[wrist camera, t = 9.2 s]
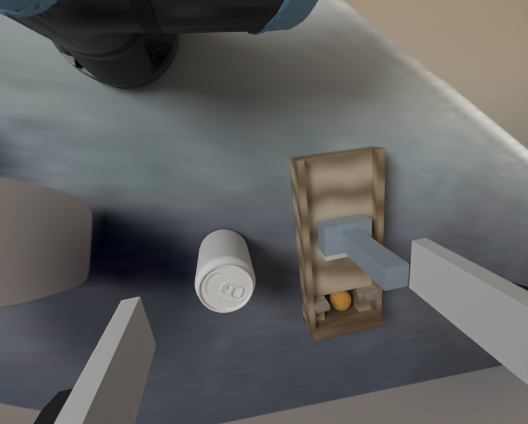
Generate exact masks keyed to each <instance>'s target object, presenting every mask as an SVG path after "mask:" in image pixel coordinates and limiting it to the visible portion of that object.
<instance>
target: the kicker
mask: <svg viewBox="0 0 528 424" xmlns="http://www.w3.org/2000/svg"><path fill="white" fill-rule="evenodd" d="M317 228H318V244H319V254H320V255H321V256H322V257H323V258H324V260H325V261H329V260H334V259H339V258H344V257H350V258H351V259H352V260H353V261H354V262H355V263H356V264H357V265H358V266H359V267H360V268H361V269H362V270H363V271H364V272H365V273H366V274H367V275H368V276H369V277H370V278H372V279H373V280H374V281H375V282H376V283H377V284H378V285H379V286H380V287H381V288H382V289H383V290H384V291H387V290H392V289H397V288H401V287H406V286H408V274H409V264H408V263H407V262H406V261H404V260H403V259H401V258H400V257H398V256H397V255H396V254H394V253H393V252H391V251H390V250H388V249H387V248H385V247H384V246H383V245H381V244H380V243H378V242H377V241H375V240H374V239H372V219H370V218H369V217H367V216H365V215H363V214H358V215H353V216H347V217H341V218H336V219H330V220H324V221H319V222H317Z"/></svg>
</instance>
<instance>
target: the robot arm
mask: <svg viewBox="0 0 528 424" xmlns="http://www.w3.org/2000/svg"><path fill="white" fill-rule="evenodd" d="M317 2H318V0H0V14H2V15H5V16H7V17H9V18H11V19H13V20H15V21H16V22H18V23H20V24H22V25H24V26H26V27H28V28H29V29H31V30H33V31H35V32H37V33H39V34H41V35H43V36H44V37H46V38H48V39H50V40H52V42H53V43H54V45H55V46H56V48H57V49H58V50H59V52H60V53H61V54H62V55H63V56H64V57H65V58H66V59H67V61H69V62H70V63H71V64H72V65H73V66H74V67H75V68H77V69H78V70H79V71H81V72H82V73H84V74H85V75H87V76H89V77H91V78H93V79H95V80H97V81H99V82H102V83H104V84H107V85H110V86H114V87H119V88H135V87H140V86H144V85H147V84H149V83H151V82H153V81H155V80H156V79H158V78H159V77H160V76H161V75H162V74H163V73H164V72H165V71H166V70H167V69H168V67H169V66H170V64H171V62H172V61H173V58H174V56H175V53H176V50H177V45H178V37H179V33H208V32H248V33H250V34H253V35H258V34H260V33H264V32H266V31H276V30H287V29H291V28H292V27H294V26H296V25H298V24H299V23H301V22H302V21H304V20H305V18H306V17H307V16H308V15H309V14H310V12H311V11H312V10H313V8H314V7H315V5H316V3H317ZM409 288H410V289H412V290H413V291H414V292H415V293H416V294H418V295H419V296H420V297H421V298H423V299H424V300H425V301H426V302H427V303H429V304H430V305H431V306H432V307H434V308H435V309H436V310H437V311H438V312H440V313H441V314H442V315H443V316H444V317H446V318H447V319H448V320H449V321H451V322H452V323H453V324H454V325H455V326H457V327H458V328H459V329H460V330H461V331H463V332H464V333H465V334H466V335H468V336H469V337H470V338H471V339H472V340H474V341H475V342H476V343H477V344H479V345H480V346H481V347H482V348H483V349H485V350H486V351H487V352H488V353H489V354H491V355H492V356H493V357H494V358H496V359H497V360H498V361H499V362H500V363H502V364H503V365H504V366H505V367H506V368H508V369H509V370H510V371H511V372H513V373H514V374H515V375H516V376H517V377H519V378H520V379H521V380H522V381H524V382H525V383H526V384H527V385H528V287H525V286H522V285H519V284H516V283H513V282H512V283H511V282H510V281H508V280H506V279H504V278H502V277H500V276H498V275H496V274H494V273H492V272H490V271H488V270H487V269H485V268H483V267H481V266H479V265H477V264H475V263H473V262H471V261H469V260H467V259H465V258H463V257H462V256H460V255H458V254H456V253H454V252H452V251H450V250H448V249H446V248H444V247H442V246H440V245H439V244H437V243H435V242H433V241H431V240H429V239H427V238H423V239H418V240H413V241H412V250H411V267H410V285H409ZM155 348H156V344H155V341H154V338H153V335H152V332H151V329H150V326H149V323H148V320H147V317H146V314H145V311H144V308H143V305H142V302H141V299H140V297H136V298H131V299H126V300H122V301H121V303H120V304H119V306H118V308H117V310H116V312H115V313H114V315H113V317H112V319H111V321H110V323H109V324H108V326H107V328H106V330H105V332H104V333H103V335H102V337H101V339H100V341H99V343H98V344H97V346H96V348H95V350H94V352H93V353H92V355H91V357H90V359H89V361H88V363H87V364H86V366H85V368H84V370H83V372H82V373H81V375H80V377H79V379H78V381H77V383H76V384H75V386H74V388H73V389H69V390H64V391H60V392H58V394H57V395H56V396H55V397H54V398H53V399H52V400H51V401H50V402H49V403H48V404H47V405H46V406H45V407H44V408H43V409H42V411H41V412H40V414H39V416H38V417H37V419H36V421H35V422H34V424H135V420H136V416H137V413H138V409H139V405H140V402H141V398H142V395H143V391H144V387H145V384H146V380H147V377H148V373H149V369H150V366H151V362H152V358H153V355H154V351H155Z"/></svg>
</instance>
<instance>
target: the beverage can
mask: <svg viewBox="0 0 528 424" xmlns="http://www.w3.org/2000/svg"><path fill="white" fill-rule="evenodd" d="M254 288H255V274H254V270H253V267H252V263H251V259H250V255H249V251H248V248H247V244H246V242H245V240H244V239H243V237H242V236H241V235H239V234H238V233H236V232H234V231H231V230H217V231H214V232H212V233H210V234H209V235H208V236H206V237H205V239H204V240H203V241H202V243H201V246H200V250H199V257H198V264H197V271H196V279H195V289H196V293H197V295H198V297H199V298H200V300H201V302H202V303H203V304H204V305H205V306H206V307H207V308H209V309H210V310H213V311H216V312H221V313H226V312H232V311H235V310H238V309H240V308H241V307H243V306H244V305H245V304H246V303H247V302H248V301H249V299H250V298H251V296H252V293H253V291H254Z"/></svg>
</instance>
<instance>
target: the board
mask: <svg viewBox="0 0 528 424" xmlns="http://www.w3.org/2000/svg"><path fill="white" fill-rule="evenodd" d="M385 156H386V148H380V147H371V146H369V147H362V148H355V149H348V150H341V151H334V152H327V153H320V154H313V155H306V156H299V157H292V158H289V159H290V170H291V182H292V193H293V204H294V216H295V227H296V238H297V250H298V261H299V273H300V284H301V295H302V307H303V318H304V321H305V323H306V325H307V327H308V330H309V332H310V334H311V336H312V338H313V340H314V341H319V340H323V339H327V338H331V337H335V336H340V335H344V334H348V333H352V332H356V331H361V330H365V329H369V328H373V327H378V326H382V325H386V319H385V318H384V317H383V316H382V288H381V287H380V286H379V285H378V284H377V283H376V282H375V281H374V280H373V279H372V278H370V277H369V276H368V275H367V274H366V273H365V272H364V271H363V270H362V269H361V268H360V267H359V266H358V265H357V264H356V263H355V262H354V261H353V260H352V259H351V258H350V257H344V258H339V259H334V260H329V261H325V260H324V258H323V257H322V256H321V255H320V254H319V244H318V228H317V222H319V221H324V220H330V219H336V218H341V217H347V216H353V215H358V214H363V215H365V216H367V217H369V218H370V219H372V239H374V240H375V241H377V242H378V243H380V244H381V245H383V236H384V196H385ZM351 289H352V293H353V304H351V305H350V306H349V308H348V309H346V310H343V311H340V310H337V309H335V308H332V309H330V305H329V303H328V302H327V300H326V299H325V297H324V295H327V294H332V293H337V292H341V291H346V290H351Z"/></svg>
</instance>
